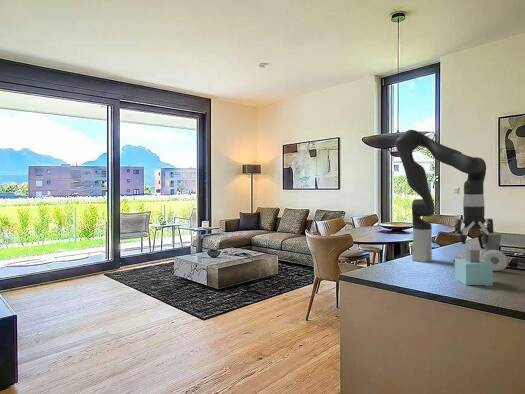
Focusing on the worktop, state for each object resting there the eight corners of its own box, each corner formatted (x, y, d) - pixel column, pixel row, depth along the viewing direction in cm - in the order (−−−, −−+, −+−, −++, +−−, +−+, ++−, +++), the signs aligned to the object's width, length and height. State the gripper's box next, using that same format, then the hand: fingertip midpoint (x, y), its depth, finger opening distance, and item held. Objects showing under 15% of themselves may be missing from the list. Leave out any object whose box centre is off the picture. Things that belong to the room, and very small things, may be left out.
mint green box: (466, 285, 142) (465, 251, 141) (454, 278, 152) (454, 247, 152) (492, 285, 141) (492, 251, 140) (479, 278, 151) (479, 247, 151)
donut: (507, 271, 162) (507, 250, 161) (507, 273, 159) (507, 251, 159) (482, 268, 168) (482, 248, 168) (481, 270, 166) (481, 249, 165)
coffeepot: (491, 259, 189) (491, 226, 188) (508, 262, 180) (508, 227, 179) (470, 261, 183) (470, 227, 183) (487, 265, 175) (487, 229, 174)
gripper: (460, 206, 142) (460, 245, 143) (497, 205, 141) (497, 245, 142) (451, 205, 150) (452, 242, 150) (486, 204, 148) (487, 241, 149)
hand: (474, 243), depth 146 cm, fingers open, 8 cm apart
